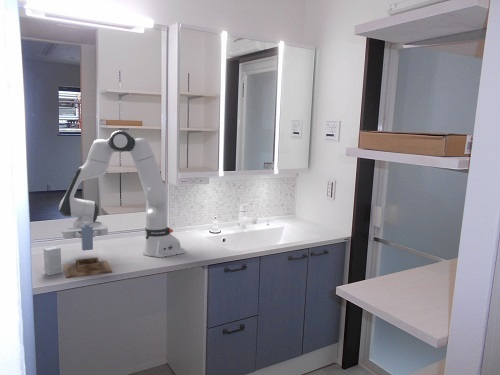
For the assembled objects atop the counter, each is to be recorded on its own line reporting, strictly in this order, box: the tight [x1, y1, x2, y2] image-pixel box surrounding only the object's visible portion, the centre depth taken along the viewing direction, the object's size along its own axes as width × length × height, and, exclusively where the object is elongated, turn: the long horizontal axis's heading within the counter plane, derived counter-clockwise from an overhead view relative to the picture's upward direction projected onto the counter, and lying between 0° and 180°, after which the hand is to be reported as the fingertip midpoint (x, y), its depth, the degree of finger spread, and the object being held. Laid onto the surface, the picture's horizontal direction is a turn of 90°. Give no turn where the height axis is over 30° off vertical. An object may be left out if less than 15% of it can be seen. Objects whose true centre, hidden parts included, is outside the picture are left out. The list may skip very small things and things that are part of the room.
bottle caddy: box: [63, 257, 113, 279], centre depth 197 cm, size 20×16×4 cm
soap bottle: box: [81, 222, 94, 251], centre depth 195 cm, size 4×4×13 cm
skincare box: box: [43, 245, 62, 277], centre depth 190 cm, size 6×4×12 cm
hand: (87, 235), depth 194 cm, fingers closed on soap bottle, 4 cm apart
